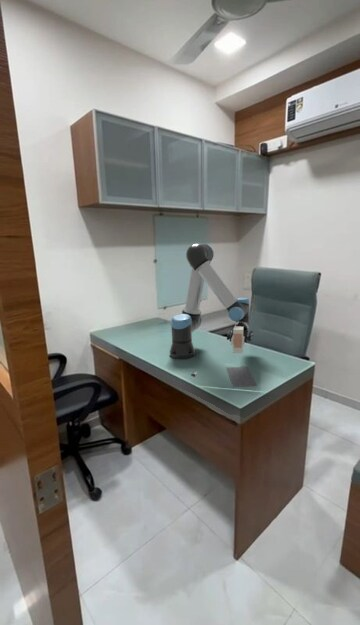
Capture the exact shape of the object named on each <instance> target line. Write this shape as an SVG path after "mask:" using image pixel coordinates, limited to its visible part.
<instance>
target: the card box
mask: <svg viewBox="0 0 360 625" xmlns="http://www.w3.org/2000/svg"><path fill="white" fill-rule="evenodd" d="M232 330H233V345H232V353H233V354H242V355H243V352H244V346H242V339H243V331H244V327H241V326H235V325H234V327H233V329H232Z"/></svg>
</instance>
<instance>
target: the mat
mask: <svg viewBox="0 0 360 625" xmlns="http://www.w3.org/2000/svg"><path fill="white" fill-rule="evenodd" d="M225 368H226V372H227V374H228V377H229V379H230V382H231V385H232V387H233V388H243V387H258V383H257V382H256V380H255V378H254V376H253V375H252V373H251V371H250V369H249V367H248V366H237V367H234V366H233V367H225Z"/></svg>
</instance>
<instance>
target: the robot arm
mask: <svg viewBox="0 0 360 625" xmlns="http://www.w3.org/2000/svg"><path fill="white" fill-rule="evenodd" d="M214 255H215V253H214V249H213V247H212V246H211V245H209V244H206V243H194V244H191V245H190V246H189V247H188V248H187V250H186V256H185V257H186V260H187V262H188V264H189V267H190V268H191V272H190V278H189V284H188V289H187V290H188V291H187V296H186V302H185V303H186V304H185V307H183V308H182V309H181V310H182V312H181V313H179V314H175V315H174V316H172V318H171V319H170V320H171V322H170V325H171V326H170V327H171V345H170V349H169V356H170V357H171V358H173V359H178V360H185V359H186V360H187V359H191V358H193V357H195V356H196V350H195V346H194V344H193V338H192V337H193V336H192V335H193V334H192V333H193V332H195V331H196V330H198V328H200V326H201V324H202V320H203V318H202V311H201V310H200V306H201V302H202V297H203V291H204V286H205V285H204V284H205V283H206V284H207V286H208V287H209V289H210V290H211V291H212V292H213V294H214V295H215V296H216V298H217V299H218V300H219V302H220V304H222V306H223V307H224V309H225V310H226V311H227V312H228V318H229V319H230V320H231V321H233V322H235V324H234V326H241V327H244V331H243V339H242V346H243V347H244V346H245V343H248V342H251V340H252V337H253V336H254V331H253V330H250V331H249V326H250V299H249V298H247V297H237V298H236V297H235V296H234V294H233V292H232V291H231V290H230V289H229V288H228V286H227V285H226V284H225V283H224V281H223V280H222V279H221V277H220V276H219V274H218V273H217V272H216V270H215V269H214V267H213V266H212V265H211V262H212V260H213V259H214V257H215V256H214ZM226 340H227V341H228V340H229V342H230V345H231V346H233V329H232V330H230V329H227V333H226Z"/></svg>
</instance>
